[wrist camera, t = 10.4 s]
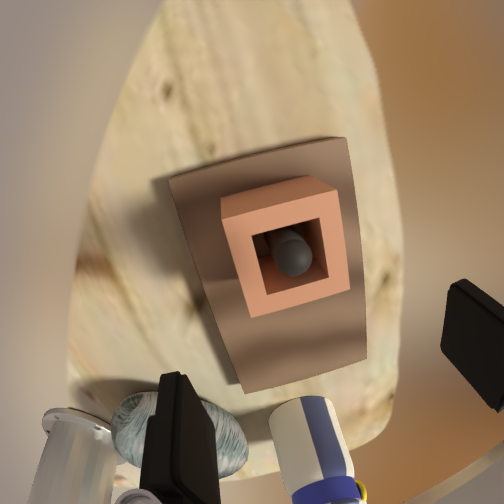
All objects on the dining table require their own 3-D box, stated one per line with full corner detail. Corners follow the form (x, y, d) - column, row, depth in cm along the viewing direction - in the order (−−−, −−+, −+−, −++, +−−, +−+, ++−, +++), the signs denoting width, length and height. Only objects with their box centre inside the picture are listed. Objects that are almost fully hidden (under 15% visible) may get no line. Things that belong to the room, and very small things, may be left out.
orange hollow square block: (324, 256, 22) (350, 289, 17) (243, 278, 22) (251, 318, 17) (309, 175, 20) (337, 189, 15) (220, 197, 20) (221, 219, 15)
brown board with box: (360, 349, 28) (392, 402, 21) (243, 383, 28) (251, 445, 21) (338, 136, 20) (392, 143, 13) (171, 177, 20) (147, 202, 13)
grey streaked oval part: (98, 436, 26) (114, 497, 17) (114, 363, 27) (131, 413, 18) (206, 449, 32) (246, 496, 24) (228, 385, 34) (277, 425, 25)
